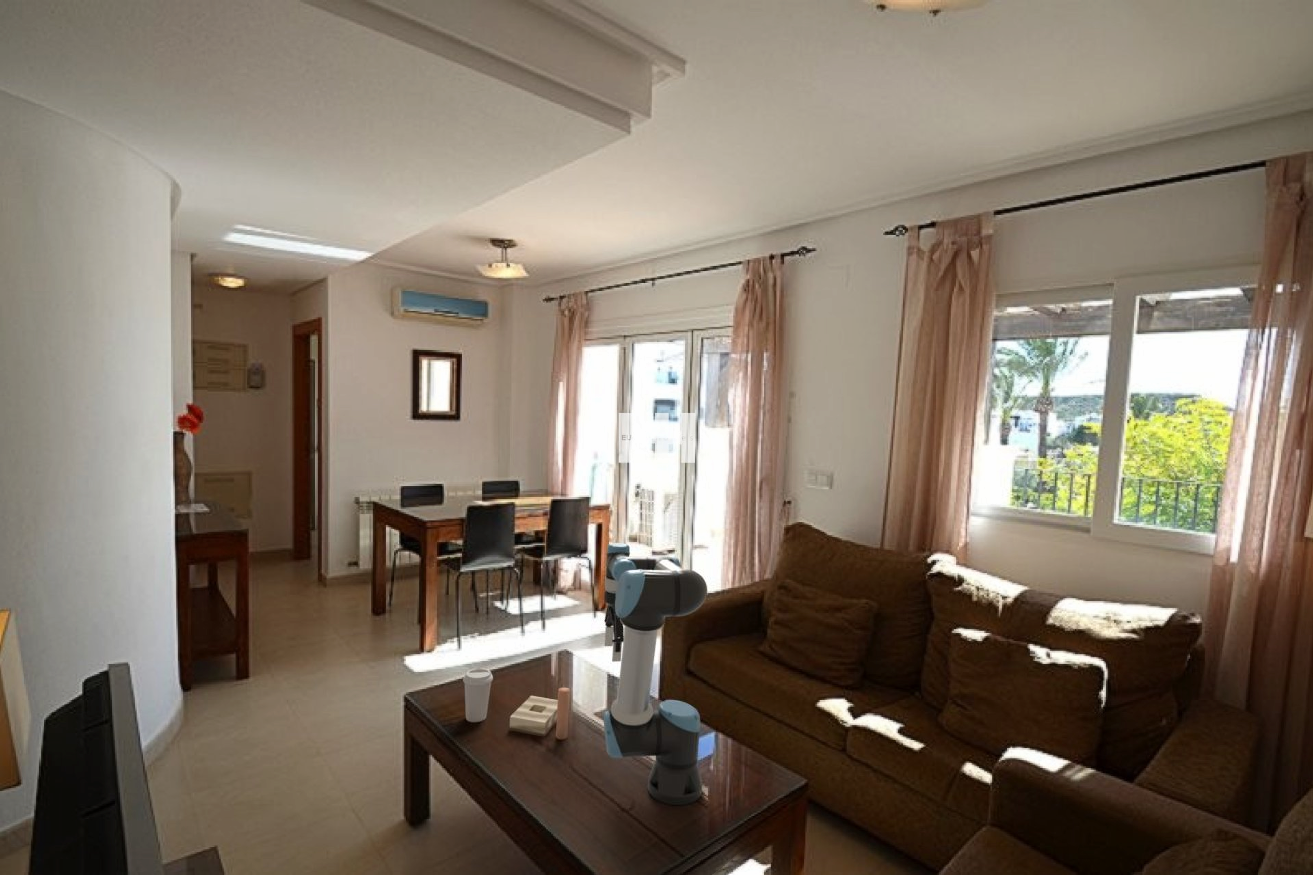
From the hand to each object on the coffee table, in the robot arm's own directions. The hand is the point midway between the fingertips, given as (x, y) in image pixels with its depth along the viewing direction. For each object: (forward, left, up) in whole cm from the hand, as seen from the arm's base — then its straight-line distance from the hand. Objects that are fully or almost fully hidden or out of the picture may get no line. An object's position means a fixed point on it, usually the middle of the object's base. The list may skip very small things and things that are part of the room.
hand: (612, 653), depth 209 cm
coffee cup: (-12, +42, -24) cm, 50 cm away
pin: (-14, +11, -23) cm, 29 cm away
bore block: (-8, +22, -23) cm, 33 cm away
